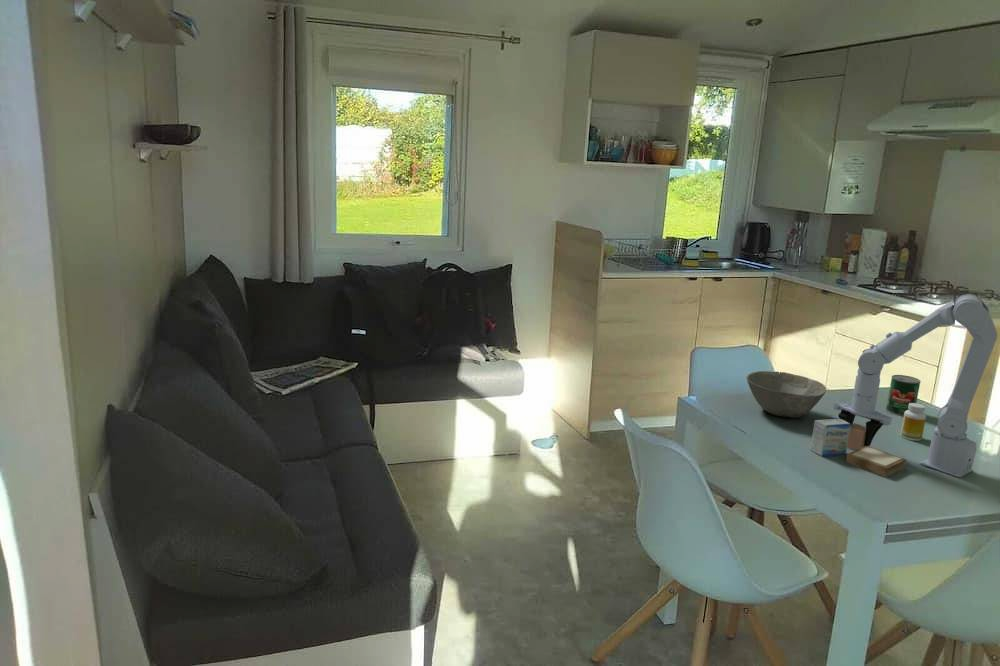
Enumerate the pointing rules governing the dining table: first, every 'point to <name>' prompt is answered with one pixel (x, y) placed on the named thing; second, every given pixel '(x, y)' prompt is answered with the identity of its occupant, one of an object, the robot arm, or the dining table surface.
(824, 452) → the medicine box
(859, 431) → the block
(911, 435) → the supplement bottle
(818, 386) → the ceramic bowl
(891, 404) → the canned tomato
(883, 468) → the walnut plinth
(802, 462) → the dining table surface
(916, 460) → the dining table surface
